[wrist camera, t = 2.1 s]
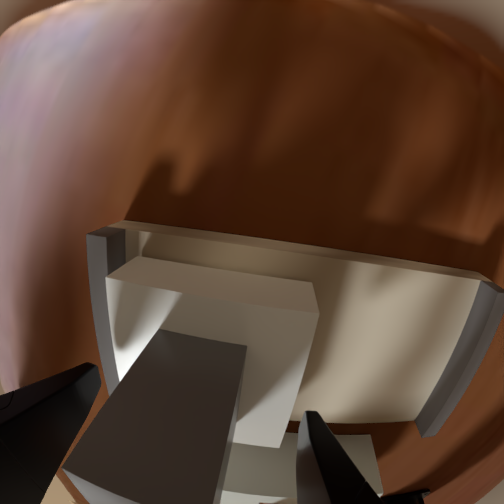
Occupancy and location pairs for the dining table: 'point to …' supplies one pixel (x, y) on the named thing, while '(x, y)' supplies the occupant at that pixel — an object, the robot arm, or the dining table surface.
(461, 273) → the rail board
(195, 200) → the dining table surface
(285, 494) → the button housing
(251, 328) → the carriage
